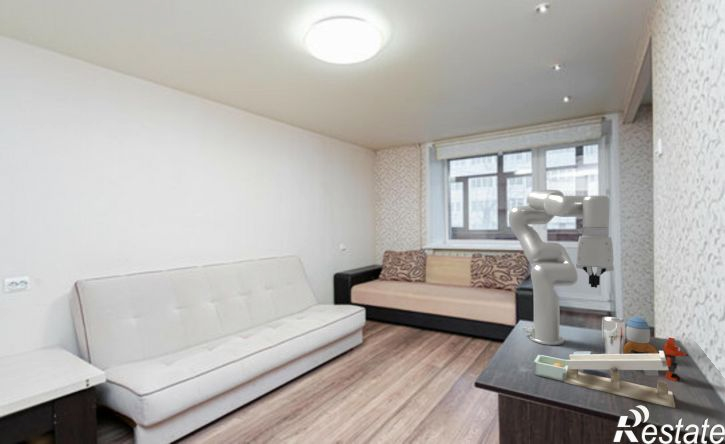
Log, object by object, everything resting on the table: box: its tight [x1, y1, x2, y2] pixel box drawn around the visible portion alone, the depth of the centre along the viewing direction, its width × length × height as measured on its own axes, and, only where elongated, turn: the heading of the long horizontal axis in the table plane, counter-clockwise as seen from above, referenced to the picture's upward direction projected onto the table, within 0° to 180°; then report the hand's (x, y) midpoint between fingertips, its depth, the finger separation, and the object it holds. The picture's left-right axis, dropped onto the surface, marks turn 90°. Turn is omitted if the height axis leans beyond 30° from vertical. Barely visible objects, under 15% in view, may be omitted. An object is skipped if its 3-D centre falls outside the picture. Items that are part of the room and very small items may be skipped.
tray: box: [533, 354, 569, 382], centre depth 116 cm, size 9×8×4 cm
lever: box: [566, 350, 669, 377], centre depth 109 cm, size 24×14×5 cm, turn 54°
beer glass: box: [601, 316, 627, 354], centre depth 125 cm, size 7×7×15 cm
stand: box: [562, 367, 676, 409], centre depth 106 cm, size 26×10×8 cm, turn 53°
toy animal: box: [663, 336, 689, 382], centre depth 111 cm, size 8×6×12 cm
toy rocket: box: [623, 316, 659, 354], centre depth 129 cm, size 10×11×15 cm
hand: (594, 286), depth 121 cm, fingers closed
